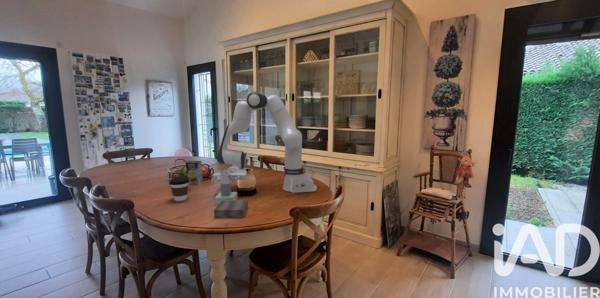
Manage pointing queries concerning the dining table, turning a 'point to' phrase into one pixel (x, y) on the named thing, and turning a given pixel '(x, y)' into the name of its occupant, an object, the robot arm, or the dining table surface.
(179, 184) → the coffee cup
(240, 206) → the stand
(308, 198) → the dining table surface
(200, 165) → the coffee box
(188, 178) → the house plant
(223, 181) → the housing
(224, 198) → the stand
